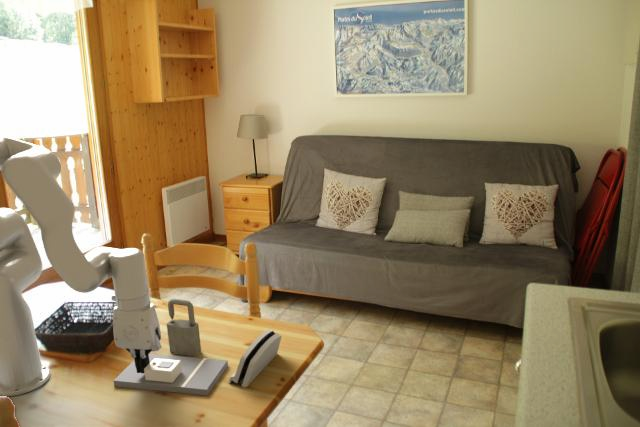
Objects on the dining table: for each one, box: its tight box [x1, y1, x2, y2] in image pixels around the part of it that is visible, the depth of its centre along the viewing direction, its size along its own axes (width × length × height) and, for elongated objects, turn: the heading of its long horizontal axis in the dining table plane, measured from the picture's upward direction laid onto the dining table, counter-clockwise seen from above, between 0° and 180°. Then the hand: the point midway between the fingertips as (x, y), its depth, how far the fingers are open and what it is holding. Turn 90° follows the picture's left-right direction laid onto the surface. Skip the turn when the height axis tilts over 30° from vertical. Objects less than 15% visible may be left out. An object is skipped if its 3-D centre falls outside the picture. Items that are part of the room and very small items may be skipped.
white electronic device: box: [144, 358, 182, 383], centre depth 133 cm, size 7×5×3 cm
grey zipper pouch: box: [228, 329, 282, 388], centre depth 137 cm, size 17×5×10 cm, turn 157°
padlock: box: [166, 298, 202, 357], centre depth 146 cm, size 4×8×15 cm, turn 71°
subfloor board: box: [113, 353, 229, 396], centre depth 136 cm, size 24×13×2 cm, turn 78°
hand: (143, 370), depth 134 cm, fingers closed
